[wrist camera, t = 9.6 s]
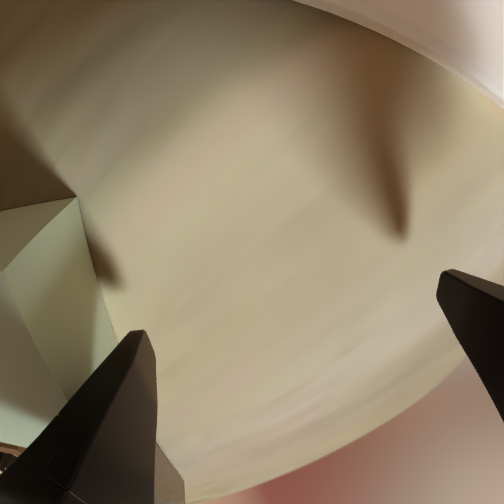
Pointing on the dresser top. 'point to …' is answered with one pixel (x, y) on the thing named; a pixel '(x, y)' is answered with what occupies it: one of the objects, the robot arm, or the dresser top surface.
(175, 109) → the dresser top surface
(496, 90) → the external hard drive
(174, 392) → the dresser top surface
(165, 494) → the dark gray rectangular block
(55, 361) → the sage block
